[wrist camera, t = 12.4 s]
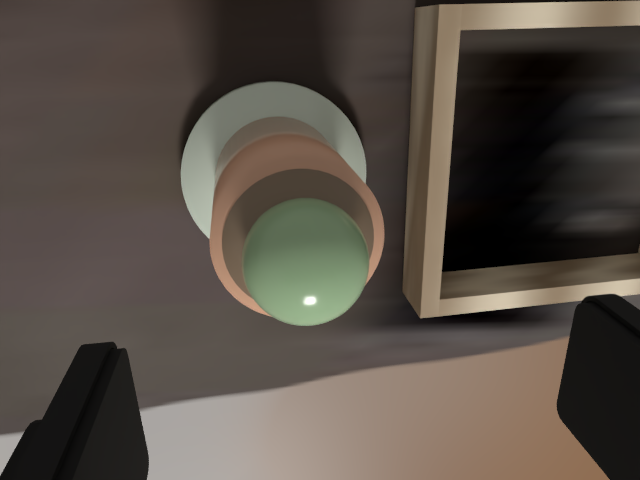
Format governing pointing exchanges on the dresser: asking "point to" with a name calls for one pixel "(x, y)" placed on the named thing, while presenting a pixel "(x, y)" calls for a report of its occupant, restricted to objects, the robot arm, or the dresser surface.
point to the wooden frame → (434, 165)
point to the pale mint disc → (245, 109)
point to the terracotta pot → (292, 223)
